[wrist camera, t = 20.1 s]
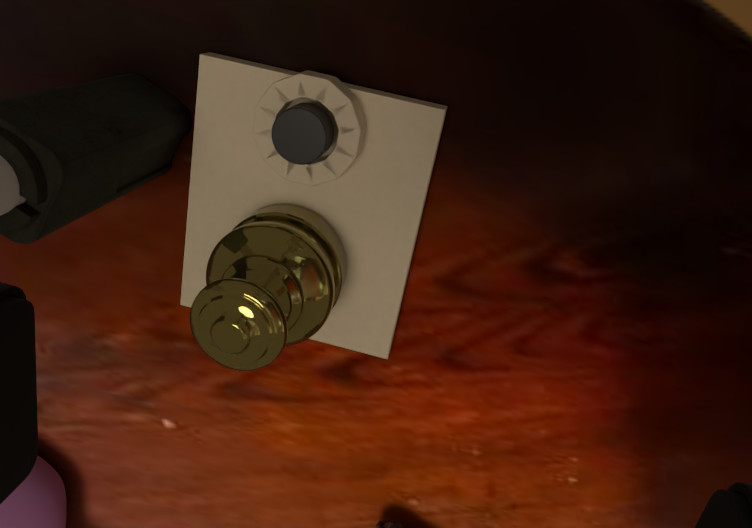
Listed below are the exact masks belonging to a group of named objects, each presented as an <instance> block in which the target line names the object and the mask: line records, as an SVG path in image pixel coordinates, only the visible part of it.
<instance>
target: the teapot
mask: <svg viewBox="0 0 752 528" xmlns="http://www.w3.org/2000/svg"><path fill="white" fill-rule="evenodd" d="M0 528H66V493H65V487H64V484H63V481H62V479H61V477H60V476H59V474H58V473H57V472H56V471H55V469H54V468H53V467H52V466H51V465H50V464H48V463H47V462H46V461H45V460H44V459H42V458H41V457H39V456H37V459H36V462H35V465H34V467H33V469H32V471H31V472H30V474H29V475H28V476H27V478H26V479H25V480H24V481H23V482H22V483H21V484H20V485H19V486H18V487H17V488H16V489H15V490H14V491H13V492H12V493H11V494H10V495H9V496H8V497H7V498H6V499H5V500H4V501H3V502H2V503H1V504H0Z"/></svg>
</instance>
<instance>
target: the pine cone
mask: <svg viewBox="0 0 752 528" xmlns="http://www.w3.org/2000/svg"><path fill="white" fill-rule="evenodd" d="M376 526H377V528H403V526H402V525H401V523H399V522H395V523H393V522H392V521H386V522H385V521H379V522H378V524H377V525H376Z"/></svg>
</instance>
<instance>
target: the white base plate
mask: <svg viewBox="0 0 752 528" xmlns="http://www.w3.org/2000/svg"><path fill="white" fill-rule="evenodd" d="M299 103H312V104H315V105H317V106H319V107H321V108H322V109H323V110H325V111H326V113H327V114H328V115H329V117H330V118H331V120H332V123H333V126H334V138H333V142H332V144H331V146H330V148H329V149H328V150H327V151H326V152H325V153H324V154H323V155H322V156H321V157H320V158H318V159H317V160H316V161H314V162H312V163H310V164H305V165H298V164H293V163H291V162H288V161H287V160H285V159H284V158H283V157H281V156H280V155H279V153H278V152H277V150H276V149H275V147H274V145H273V141H272V134H271V133H272V126H273V123H274V121H275V119H276V118H277V116H278V115H279V114H280V113H282V112H283V111H285V110H286V109H288V108H290V107H292V106H294V105H296V104H299ZM446 111H447V106H445V105H440V104H436V103H432V102H427V101H423V100H418V99H414V98H410V97H405V96H401V95H396V94H392V93H388V92H383V91H379V90H374V89H370V88H366V87H361V86H357V85H352V84H348V83H344V82H341V81H340V80H339V79H338V78H337V77H335V76H331V75H327V74H322V73H318V72H314V71H309V70H308V71H304V72H301V73H300V72H295V71H291V70H286V69H282V68H278V67H273V66H269V65H264V64H260V63H256V62H251V61H247V60H242V59H238V58H234V57H229V56H225V55H220V54H216V53H212V52H209V53H204V54H200V60H199V72H198V85H197V98H196V111H195V124H194V136H193V149H192V162H191V175H190V187H189V200H188V213H187V226H186V239H185V251H184V264H183V277H182V290H181V302H180V305H184V306H187V307H191V306H192V304H193V302H194V300H195V298H196V296H197V295H198V293H199V292H200V291H201V290H202V289H203V288H204V287H205V286H206V268H207V264H208V260H209V257H210V255H211V253H212V251H213V249H214V247H215V246H216V245H217V243H218V242H219V241H220V240H221V239H222V238H223V237H224V236H225V235H226V234H228V233H229V232H231V231H232V230H233V229H234V227H235V226H237V225H238V224H239V223H240V222H242V221H243V220H245V219H247V218H248V217H249V216H250V215H251V214H253V213H254V212H256V211H258V210H260V209H262V208H264V207H267V206H272V205H279V204H286V205H294V206H299V207H302V208H305V209H307V210H310V211H311V212H313V213H315V214H317V215H318V216H320V217H321V218H322V219H324V220H325V221H326V222H327V223H328V224H329V225H330V226H331V227H332V228H333V229H334V231H335V232H336V234H337V235H338V237H339V238H340V240H341V242H342V244H343V247H344V250H345V253H346V258H347V276H346V280H345V283H344V286H343V288H342V290H341V292H340V295H339V298H338V300H337V302H336V304H335V306H334V307H333V309H332V310H331V312H330V315H329V317H328V319H327V320H326V322H325V324H324V325H323V326H322V327H321V329H320V330H319V331H318V332H317V333H315V334H314V335H313V336H311V337H310V338H309V339H312V340H316V341H320V342H324V343H328V344H331V345H335V346H339V347H343V348H347V349H350V350H354V351H358V352H362V353H365V354H369V355H373V356H377V357H381V358H384V359H388V356H389V353H390V349H391V346H392V341H393V337H394V333H395V328H396V324H397V320H398V316H399V311H400V307H401V303H402V299H403V294H404V290H405V286H406V282H407V277H408V273H409V269H410V264H411V260H412V256H413V252H414V247H415V243H416V239H417V235H418V230H419V226H420V222H421V218H422V213H423V209H424V205H425V200H426V196H427V192H428V188H429V183H430V179H431V175H432V171H433V166H434V162H435V158H436V154H437V149H438V145H439V141H440V136H441V132H442V128H443V124H444V119H445V115H446Z"/></svg>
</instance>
